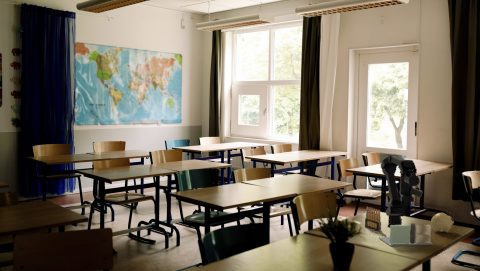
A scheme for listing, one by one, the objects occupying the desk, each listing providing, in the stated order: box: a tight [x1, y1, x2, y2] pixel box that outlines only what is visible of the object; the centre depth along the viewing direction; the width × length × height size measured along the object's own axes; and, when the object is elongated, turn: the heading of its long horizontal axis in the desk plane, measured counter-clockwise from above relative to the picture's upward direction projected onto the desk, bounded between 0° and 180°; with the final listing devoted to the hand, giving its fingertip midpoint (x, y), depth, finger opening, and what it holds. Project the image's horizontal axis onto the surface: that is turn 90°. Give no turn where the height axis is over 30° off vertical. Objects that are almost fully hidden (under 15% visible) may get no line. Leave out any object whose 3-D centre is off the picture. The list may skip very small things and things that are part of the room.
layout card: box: [378, 236, 434, 247], centre depth 241 cm, size 22×14×1 cm, turn 98°
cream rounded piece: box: [430, 212, 455, 233], centre depth 258 cm, size 10×12×11 cm
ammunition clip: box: [364, 206, 382, 232], centre depth 263 cm, size 11×2×12 cm, turn 30°
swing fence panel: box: [389, 224, 411, 244], centre depth 235 cm, size 10×1×9 cm, turn 99°
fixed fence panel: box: [409, 222, 432, 244], centre depth 236 cm, size 10×2×10 cm, turn 98°
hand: (405, 211), depth 255 cm, fingers closed
